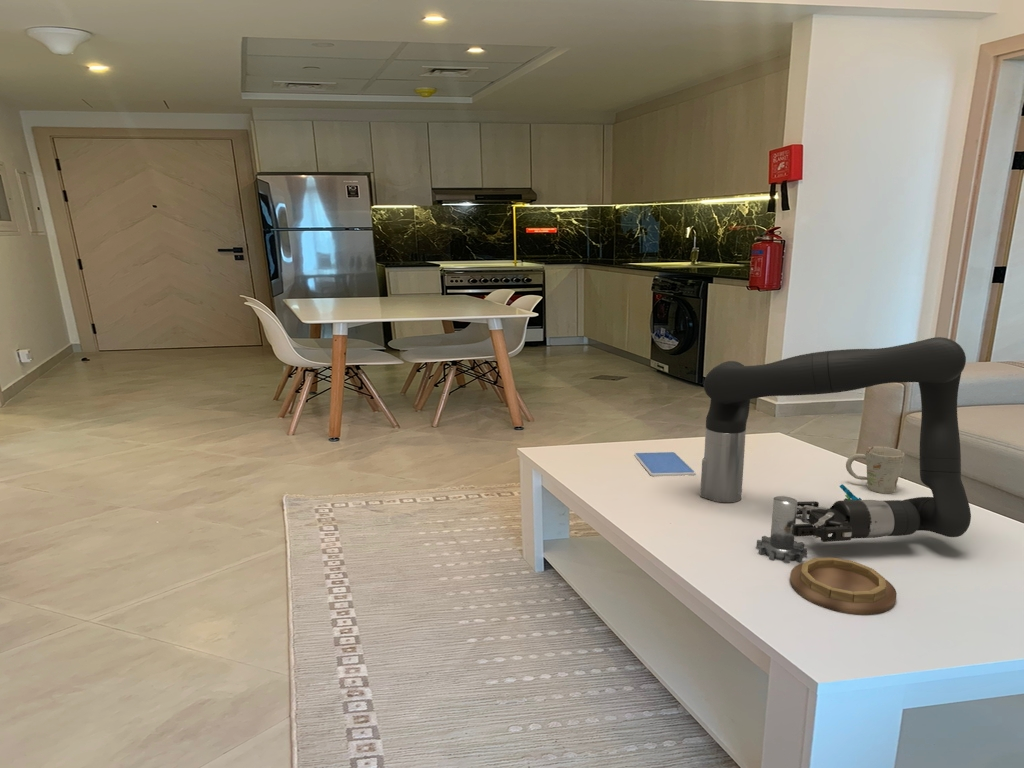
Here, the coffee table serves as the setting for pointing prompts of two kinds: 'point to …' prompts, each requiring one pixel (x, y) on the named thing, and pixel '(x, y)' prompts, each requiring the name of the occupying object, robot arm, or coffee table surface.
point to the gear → (848, 493)
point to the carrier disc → (843, 586)
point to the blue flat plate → (664, 464)
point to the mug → (879, 468)
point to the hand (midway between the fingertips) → (783, 521)
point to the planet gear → (782, 533)
